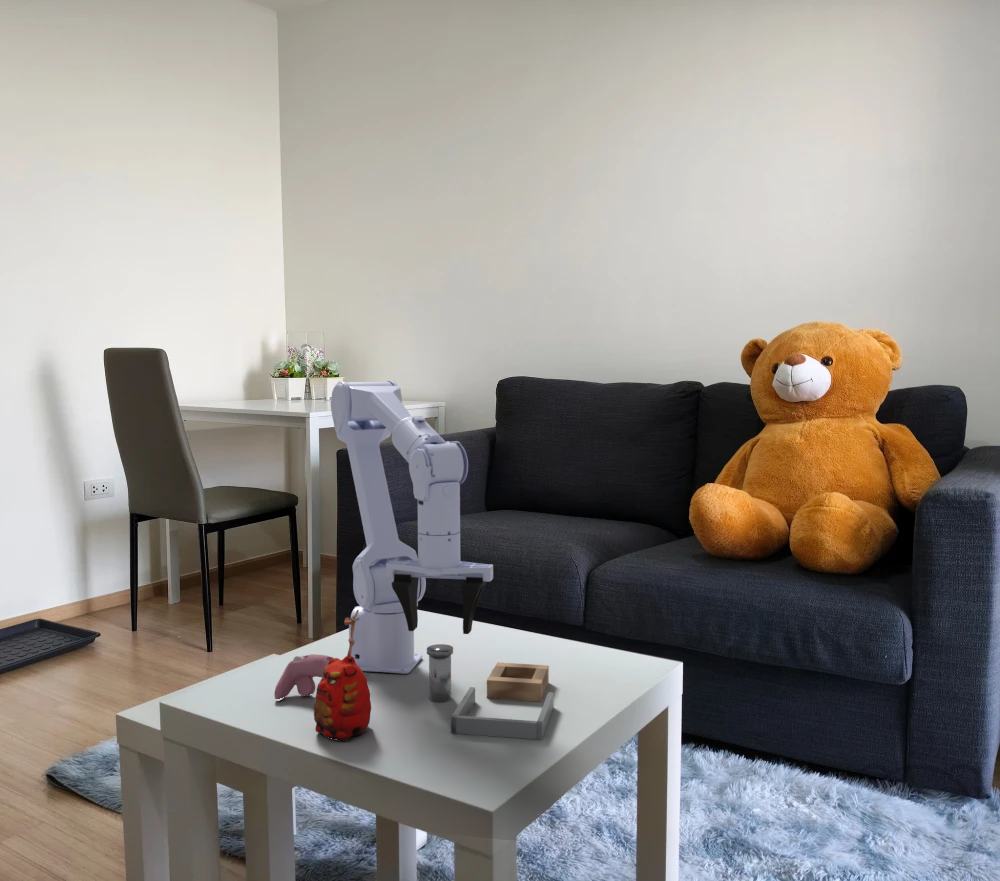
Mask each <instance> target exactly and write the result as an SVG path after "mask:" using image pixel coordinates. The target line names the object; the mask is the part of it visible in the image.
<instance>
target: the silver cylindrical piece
mask: <svg viewBox="0 0 1000 881" xmlns="http://www.w3.org/2000/svg"><path fill="white" fill-rule="evenodd" d="M426 654H427V655H428V669H429V670H428V675H429V676H428V677H429V678H428V680H429V681H428V682H429V689H428V690H429V694H428V695H429V696H428V697H429V698H428V699H429V700H430V702H431V701H432V702H434V703H444V702H445V703H446V702H449V701H451V699H452V654H454V646H453V645H450V644H444V643H442V644H441V643H438V644H432V645H428V646H426Z"/></svg>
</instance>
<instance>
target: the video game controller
mask: <svg viewBox="0 0 1000 881" xmlns="http://www.w3.org/2000/svg"><path fill="white" fill-rule="evenodd" d="M334 658H335V657H333V656H329V655H324V654H308V655H301V656H298V655H296V656H294V658H293V659H292V660H291V661H289V662H288V664H287V665H286V667H285V668H284V671H283V672H282V675H281V676H280V678H279V679H278V681H277V684H276V685H275V689H274V700H275V699H280V698H283V697H285V696H286V697H287V696H288V695H289V694H290V693H291V691H292V690H293V688H294V687H295V686H296V689H297V693H298V694H299V695H300V696H303V695H310V694H312V695H313V694H314V693H315V691H316V683H315V681H314V677H316V678H322V677H323V670H324V667H326V666H327V665H328V663H329V661H330V660H331V659H334ZM286 697H285V698H286Z"/></svg>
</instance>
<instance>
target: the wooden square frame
mask: <svg viewBox="0 0 1000 881" xmlns="http://www.w3.org/2000/svg"><path fill="white" fill-rule="evenodd" d="M549 667H550V666H549V665H548V664H544V665H543V664H530V663H529V664H528V663H513V662H512V663H511V662H510V663H509V662H496V663H495V666H494V667H493V669H492V671H491V673H490V674H489V676H488V677H487V679H486V698H487V699H496V700H497V699H498V700H499V699H500V700H511V701H512V700H513V701H530V702H542V699H543V697H544V696H545V693H546V690H547V688H548V685H549V681H550V679H549V677H550V676H549V675H550V674H549V670H550V669H549Z"/></svg>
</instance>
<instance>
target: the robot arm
mask: <svg viewBox="0 0 1000 881" xmlns="http://www.w3.org/2000/svg"><path fill="white" fill-rule="evenodd" d="M330 399H331V400H330V412H331V416H332V421H333V427H334V431H335V433H336V438H337V439H338V440H339V441H341V442H343V443H344V444H346V448H347V453H348V458H349V462H350V463H349V464H350V468H351V473H352V478H353V483H354V487H355V492H356V493H355V494H356V498H357V503H358V504H357V505H358V507H359V509H358V510H359V513H360V517H361V524H362V527H363V534H364V537H365V538H364V539H365V544H366V547H365V548H364V549H363V550H362V551H361V552H360V553H359V555H357V557H356V558H355V559H354V561H353V564H352V574H353V582H352V586H353V588H352V589H353V595H354V598H355V600H356V603H357V604H358V606H354V608H353V610H352V612H351V614H350V617H349V618H352V617H353V616H354V615H355V614H356V611H357V609H358V610H359V611H358V614H357V616H356V618H355V619H357V618H360V619H359V620H357V621H356V623H355V627H354V633H353V639H354V642H355V643H354V645H353V646H352V651H351V656H352V657H354V659H355V662H356V664H357V665H358V666H359V667H360V668H361V670H362V671H363V672H376V673H391V674H403V675H404V674H406V675H407V674H409V673H410V672H411V671H412V670H413V669H414V668H415V667H416V665H417V664H418V663H419V662H420V661H421V660H422V658H423V654H422V653H421V654H420V653H415V630H416V629H417V628H418V624H419V623H418V621H419V620H418V616H419V615H418V607H419V602H420V601H421V600H422V598H423V597H424V595H425V592H426V586H427V582H426V580H427V579H446V580H449V579H451V580H465V581H464V582H463V583H461V586H460V588H461V596H462V606H463V609H462V610H463V616H462V634H463V635H469V634H470V633H471V631H472V629H473V621H474V616H475V612H476V609H477V606H478V603H479V601H480V597H481V594H482V593H483V590H484V588H485V586H486V584H487V582H492V580H493V579H494V564H489V563H488V564H486V563H480V562H479V563H477V562H469V561H461V494H460V493H461V484H464V482H465V481H466V479H467V476H468V472H469V459H468V455H467V452H466V449H465V448H464V446H463V445H462V443H461V442H460V441H458V440H455V441H449V440H447V441H445V439H444V438H443V437H442V436H440V434H439V433H438V432H437V431H436V430H435V429H434V427H432V426H431V425H430V424H429V423H428V421H426V420H427V419H426V418H425V417H424V416H422V415H411V414H410V412H409V411H408V409H407V408H406V407H405V405H404V404H403V396H402V390H401V388H400V387H399V386H398V384H397V383H396V382H395V381H394V380H387V381H357V382H350V381H349V382H348V381H347V382H345V381H343V380H342V381H338V382H337V383H336V384H335V386H334V387H333V389H332V391H331V398H330ZM390 437H391V442H392V444H393V446H394V448H395V449H396V450H397V451H398V452H399V454H400V455H401V456H402V457H403V458H404V460H405V461H406V462H407V463H408V471H409V474H410V475H409V476H410V479H411V482H412V486H413V488H412V489H413V492H412V493H413V496H414V499H416V500H417V552H416V550H415V549H414V548H412V547H411V546H409V545H407V543H404V542H402V541H401V540H400V538H399V535H398V529H397V525H396V521H395V515H394V511H393V506H392V502H391V497H390V492H389V491H390V490H389V487H388V486H389V485H388V481H387V477H386V473H385V468H384V463H383V457H382V454H381V453H382V452H381V449H380V444H381V442H383V441H385V440H386V439H388V438H390ZM349 620H350V621H351V619H349ZM350 638H351V625H350V624H349V625H348V640H349V639H350ZM348 644H349V645H348V647H349V646H350V643H349V642H348Z"/></svg>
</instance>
